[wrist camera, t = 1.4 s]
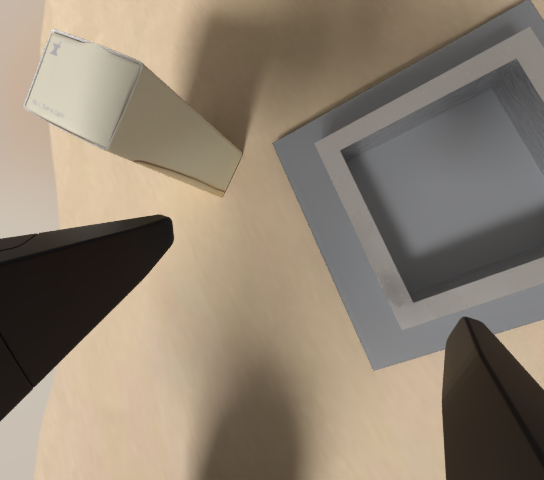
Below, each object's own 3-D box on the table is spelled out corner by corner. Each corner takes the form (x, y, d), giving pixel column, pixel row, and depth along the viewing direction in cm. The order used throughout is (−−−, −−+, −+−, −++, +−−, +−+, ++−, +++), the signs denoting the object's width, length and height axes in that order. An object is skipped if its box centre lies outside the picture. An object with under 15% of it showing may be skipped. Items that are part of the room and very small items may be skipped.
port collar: (395, 318, 19) (401, 330, 16) (320, 157, 21) (314, 143, 18) (612, 243, 16) (666, 242, 13) (503, 61, 18) (529, 26, 15)
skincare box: (169, 171, 26) (16, 109, 15) (188, 125, 26) (48, 23, 14) (225, 199, 24) (103, 155, 13) (247, 151, 24) (141, 59, 12)
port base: (372, 365, 21) (373, 371, 20) (276, 147, 23) (272, 143, 22) (684, 269, 16) (705, 270, 15) (520, 11, 19) (529, -2, 18)
